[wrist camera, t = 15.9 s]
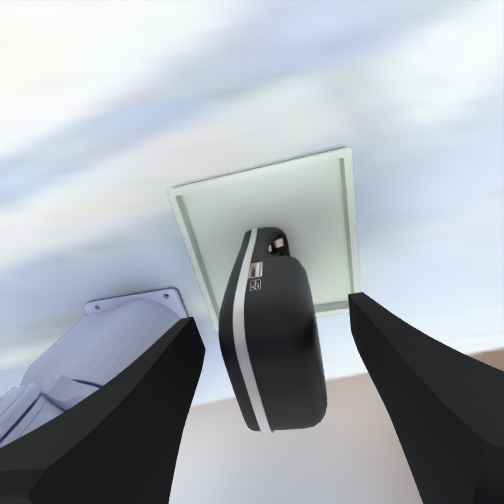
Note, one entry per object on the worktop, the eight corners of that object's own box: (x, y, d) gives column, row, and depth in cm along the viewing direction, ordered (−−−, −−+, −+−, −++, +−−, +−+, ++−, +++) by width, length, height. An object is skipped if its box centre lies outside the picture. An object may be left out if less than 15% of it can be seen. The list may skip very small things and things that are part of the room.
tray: (219, 319, 23) (215, 330, 21) (174, 187, 18) (166, 190, 17) (356, 300, 21) (362, 311, 20) (344, 147, 16) (351, 147, 15)
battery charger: (305, 296, 21) (341, 449, 10) (261, 302, 21) (252, 453, 11) (293, 217, 18) (323, 313, 7) (243, 226, 19) (206, 328, 8)
